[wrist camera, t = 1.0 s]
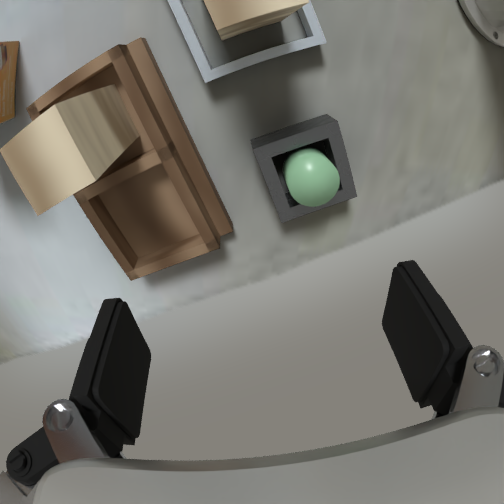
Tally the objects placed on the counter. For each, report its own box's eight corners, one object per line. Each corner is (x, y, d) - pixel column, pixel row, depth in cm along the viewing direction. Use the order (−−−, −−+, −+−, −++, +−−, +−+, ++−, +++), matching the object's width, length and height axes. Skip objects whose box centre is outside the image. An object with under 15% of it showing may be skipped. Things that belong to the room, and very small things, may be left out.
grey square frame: (274, -61, 16) (277, -69, 14) (319, 43, 22) (326, 42, 20) (159, -23, 18) (153, -29, 16) (206, 81, 23) (205, 83, 22)
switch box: (326, 114, 26) (337, 121, 23) (346, 183, 29) (357, 196, 27) (250, 140, 27) (252, 149, 24) (277, 207, 30) (281, 222, 28)
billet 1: (114, 83, 21) (54, 104, 13) (140, 135, 24) (95, 180, 16) (67, 113, 22) (-1, 149, 14) (92, 161, 25) (38, 215, 17)
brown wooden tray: (145, 38, 21) (133, 36, 18) (232, 223, 31) (233, 243, 28) (36, 108, 22) (16, 116, 20) (129, 263, 33) (121, 284, 30)
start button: (321, 140, 25) (332, 151, 22) (334, 182, 27) (344, 197, 25) (275, 156, 26) (281, 168, 23) (290, 197, 28) (297, 213, 25)
